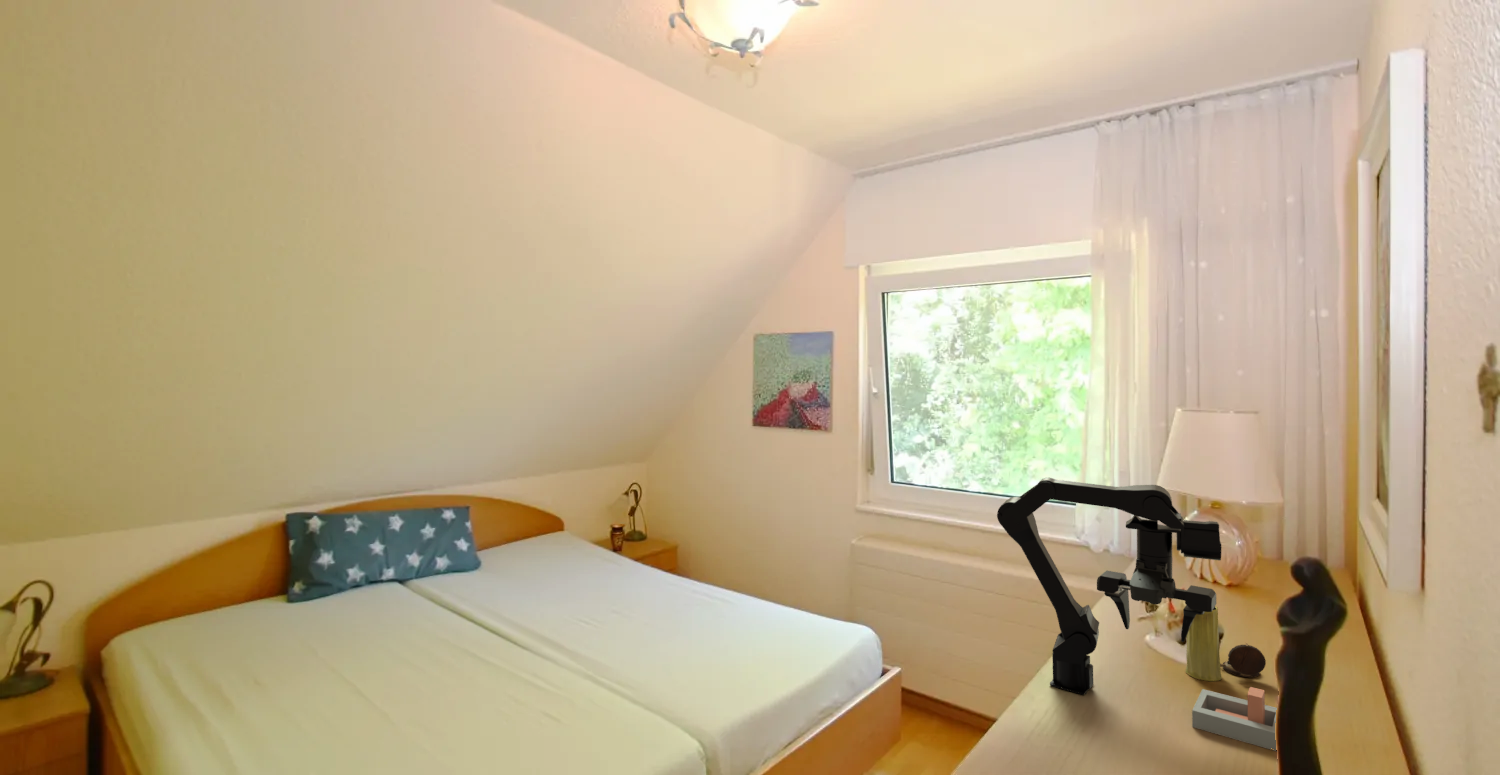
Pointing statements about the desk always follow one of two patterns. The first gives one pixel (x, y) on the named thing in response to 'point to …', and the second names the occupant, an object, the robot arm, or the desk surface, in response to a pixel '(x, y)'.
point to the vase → (1204, 647)
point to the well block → (1233, 719)
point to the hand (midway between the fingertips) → (1154, 634)
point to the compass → (1244, 661)
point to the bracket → (1252, 706)
